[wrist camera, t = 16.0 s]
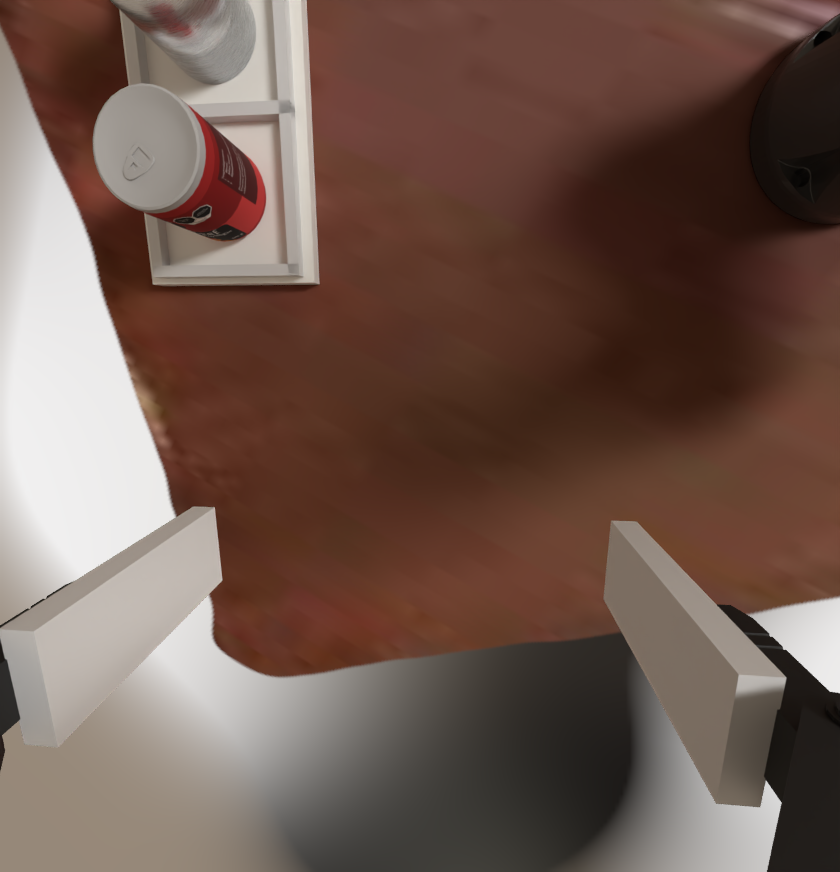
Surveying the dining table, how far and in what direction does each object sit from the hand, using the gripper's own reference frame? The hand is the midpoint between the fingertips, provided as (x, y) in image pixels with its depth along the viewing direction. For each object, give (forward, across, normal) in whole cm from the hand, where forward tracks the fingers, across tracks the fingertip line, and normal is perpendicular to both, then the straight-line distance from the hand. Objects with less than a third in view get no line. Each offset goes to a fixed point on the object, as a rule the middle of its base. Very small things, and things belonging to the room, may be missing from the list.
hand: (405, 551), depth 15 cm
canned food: (+29, -20, +19) cm, 40 cm away
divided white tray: (+31, -20, +26) cm, 45 cm away
